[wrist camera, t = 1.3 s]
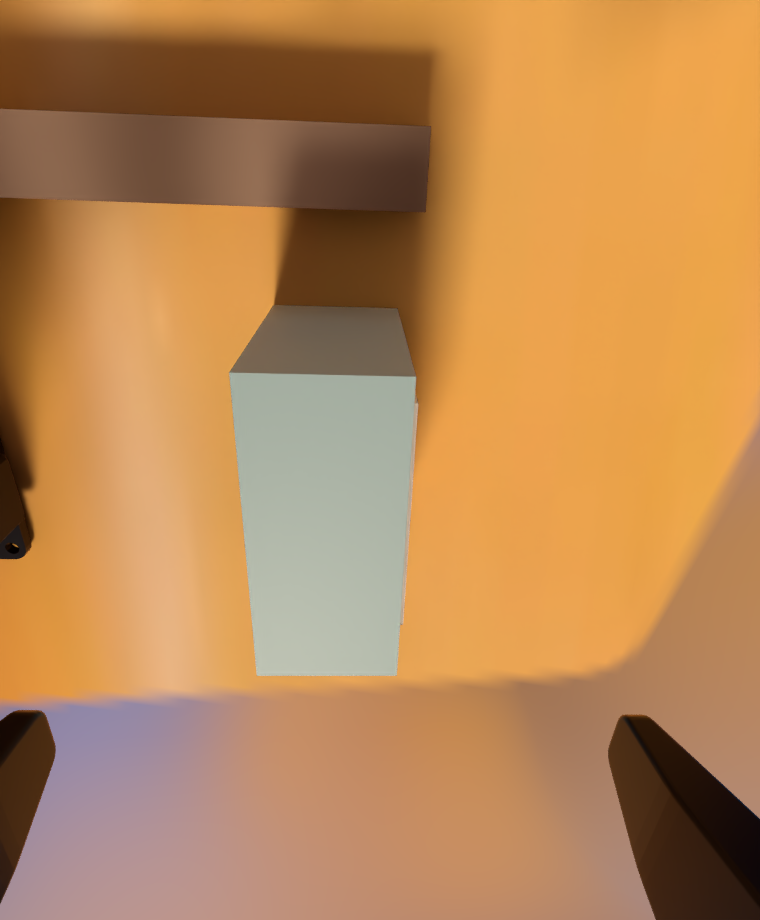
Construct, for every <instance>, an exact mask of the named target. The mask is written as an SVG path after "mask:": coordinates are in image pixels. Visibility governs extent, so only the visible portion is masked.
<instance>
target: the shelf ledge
mask: <svg viewBox="0 0 760 920" xmlns="http://www.w3.org/2000/svg"><path fill="white" fill-rule="evenodd" d="M430 135H431V126H409V125H385V124H361V123H336V122H312V121H288V120H263V119H239V118H214V117H190V116H166V115H141V114H117V113H93V112H68V111H44V110H19V109H0V198H28V199H57V200H86V201H114V202H143V203H172V204H200V205H229V206H258V207H287V208H315V209H344V210H373V211H401V212H426V198H427V182H428V167H429V151H430Z"/></svg>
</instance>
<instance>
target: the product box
mask: <svg viewBox="0 0 760 920" xmlns="http://www.w3.org/2000/svg"><path fill="white" fill-rule="evenodd" d="M229 375H230V386H231V397H232V408H233V419H234V430H235V441H236V452H237V463H238V474H239V485H240V496H241V507H242V518H243V529H244V540H245V551H246V562H247V572H248V583H249V594H250V605H251V616H252V627H253V638H254V649H255V660H256V671H257V676H397V663H398V648H399V632H400V625H403V618H404V604H405V589H406V575H407V560H408V545H409V531H410V516H411V502H412V487H413V472H414V458H415V443H416V429H417V414H418V401H417V397H416V393H415V387H416V374H415V371H414V367H413V363H412V360H411V356H410V352H409V349H408V345H407V341H406V338H405V334H404V330H403V327H402V323H401V319H400V316H399V312H398V308H368V307H333V306H297V305H274V306H273V307H272V309H271V310H270V312H269V313H268V315H267V316H266V318H265V319H264V321H263V322H262V324H261V325H260V327H259V328H258V330H257V331H256V333H255V334H254V336H253V337H252V339H251V340H250V342H249V343H248V345H247V347H246V348H245V350H244V351H243V353H242V354H241V356H240V357H239V359H238V360H237V362H236V363H235V365H234V366H233V368H232V369H231V371H230V372H229Z"/></svg>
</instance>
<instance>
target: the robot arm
mask: <svg viewBox="0 0 760 920" xmlns="http://www.w3.org/2000/svg"><path fill="white" fill-rule="evenodd" d="M24 518H25V514H24V510H23V507H22V504H21V500H20V497H19V494H18V490H17V487H16V483H15V480H14V477H13V473H12V470H11V467H10V463H9V460H8V459H7V458H6V456H5V453H4V449H3V446H2V443H1V439H0V559H19V558H22V557H23V556H25V555H26V553H27V552H28V551H29V550H30V548H31V540H30V536H29V533H28V530H27V526H26V523H25V520H24ZM12 543H14V544H16V545H17V546H18V547H19V548H18V547H15V546H14V545H13V544H12ZM55 751H56V749H55V743H54V740H53V736H52V733H51V730H50V727H49V723H48V720H47V717H46V715H45V713H43V712H42V711H39V710H18V711H14V712H12V713H10V714H9V715H7V716H6V717H5V718H4V719H2V720H1V721H0V903H1V901H2V899H3V897H4V894H5V892H6V890H7V888H8V885H9V883H10V881H11V879H12V876H13V874H14V872H15V869H16V866H17V864H18V861H19V859H20V856H21V853H22V850H23V847H24V845H25V842H26V839H27V836H28V833H29V830H30V828H31V825H32V822H33V819H34V816H35V813H36V811H37V808H38V805H39V802H40V799H41V796H42V793H43V791H44V788H45V785H46V782H47V779H48V776H49V773H50V771H51V767H52V765H53V761H54V758H55ZM608 758H609V764H610V768H611V772H612V776H613V780H614V783H615V787H616V791H617V795H618V798H619V802H620V806H621V810H622V814H623V817H624V821H625V825H626V829H627V833H628V836H629V840H630V844H631V848H632V851H633V855H634V858H635V862H636V865H637V868H638V871H639V874H640V877H641V880H642V883H643V886H644V889H645V891H646V894H647V897H648V900H649V902H650V905H651V908H652V911H653V913H654V916H655V919H656V920H760V819H759V818H758V817H757V816H756V815H755V814H754V813H753V812H752V811H751V810H750V809H749V808H748V807H747V806H745V805H744V804H743V803H742V802H741V801H740V800H739V799H738V798H737V797H736V796H734V795H733V794H732V793H731V792H730V791H729V790H728V789H727V788H726V787H725V786H724V785H723V784H722V783H721V782H719V781H718V780H717V779H716V778H715V777H714V776H713V775H712V774H711V773H710V772H708V770H707V769H705V768H704V767H703V766H702V765H701V764H700V763H699V762H698V761H697V760H696V759H695V758H694V757H692V756H691V755H690V754H689V753H688V752H687V751H686V750H685V749H684V748H683V747H682V746H681V745H679V744H678V743H677V742H676V741H675V740H674V739H673V738H672V737H671V736H670V735H668V733H667V732H665V731H664V730H663V729H662V728H661V727H660V726H659V725H658V724H657V723H656V722H655V721H654V720H652V719H651V718H650V717H648V716H645V715H622V716H621V717H620V718H619V720H618V722H617V725H616V728H615V730H614V733H613V736H612V739H611V742H610V745H609V749H608Z"/></svg>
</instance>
